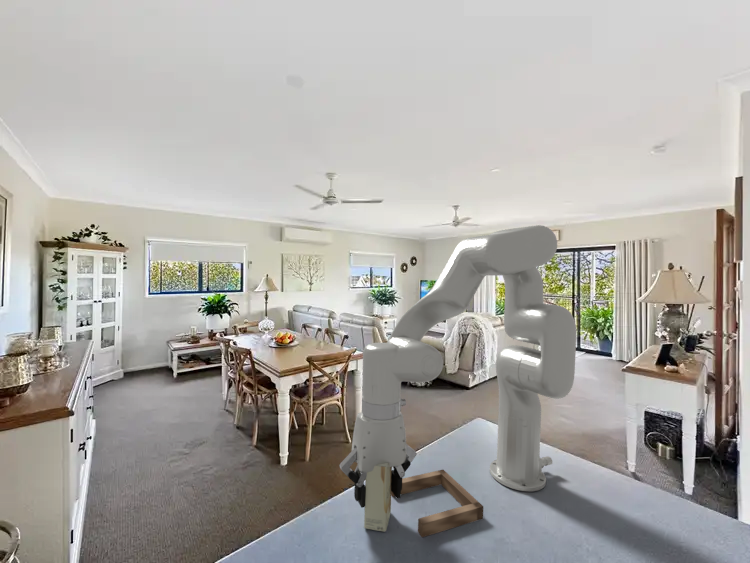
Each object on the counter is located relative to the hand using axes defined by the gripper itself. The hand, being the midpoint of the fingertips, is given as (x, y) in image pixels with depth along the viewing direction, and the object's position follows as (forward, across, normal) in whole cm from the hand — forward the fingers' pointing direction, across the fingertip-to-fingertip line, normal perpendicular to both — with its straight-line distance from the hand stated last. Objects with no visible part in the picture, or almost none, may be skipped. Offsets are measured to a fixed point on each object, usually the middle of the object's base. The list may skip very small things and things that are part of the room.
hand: (378, 497), depth 67 cm
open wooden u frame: (+4, -13, 0) cm, 14 cm away
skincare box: (+5, 0, 0) cm, 5 cm away
